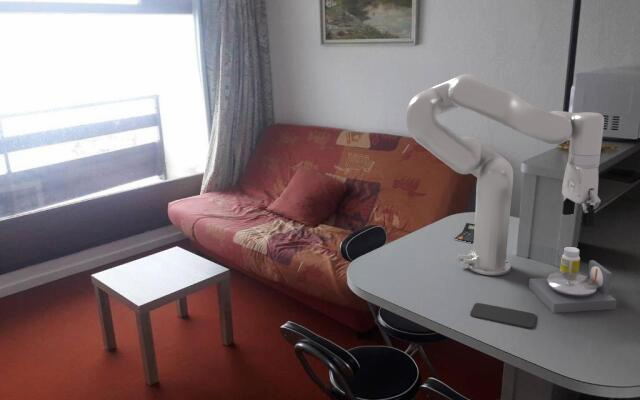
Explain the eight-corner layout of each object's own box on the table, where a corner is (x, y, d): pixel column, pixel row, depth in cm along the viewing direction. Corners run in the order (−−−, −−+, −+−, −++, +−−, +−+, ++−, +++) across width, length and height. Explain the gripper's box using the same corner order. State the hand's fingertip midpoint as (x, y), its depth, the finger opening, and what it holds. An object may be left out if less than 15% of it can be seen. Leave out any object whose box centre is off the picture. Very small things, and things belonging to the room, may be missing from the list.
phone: (475, 301, 138) (536, 313, 131) (475, 304, 138) (536, 316, 132) (469, 315, 132) (533, 328, 125) (468, 318, 132) (532, 331, 125)
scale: (553, 312, 132) (557, 282, 130) (528, 287, 146) (531, 258, 143) (615, 308, 133) (619, 278, 131) (584, 283, 147) (588, 255, 144)
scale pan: (560, 297, 132) (561, 294, 132) (538, 276, 144) (538, 273, 144) (606, 294, 133) (607, 291, 133) (581, 274, 145) (581, 270, 144)
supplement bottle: (577, 274, 152) (581, 247, 150) (577, 281, 148) (581, 253, 146) (559, 271, 154) (562, 245, 152) (559, 278, 150) (562, 251, 148)
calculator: (454, 240, 180) (454, 232, 179) (466, 230, 189) (466, 222, 188) (481, 246, 175) (482, 237, 174) (492, 235, 184) (493, 227, 183)
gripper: (554, 153, 149) (548, 211, 154) (588, 168, 132) (580, 231, 138) (579, 152, 149) (573, 209, 154) (616, 166, 133) (608, 230, 138)
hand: (577, 220), depth 146 cm, fingers open, 9 cm apart
